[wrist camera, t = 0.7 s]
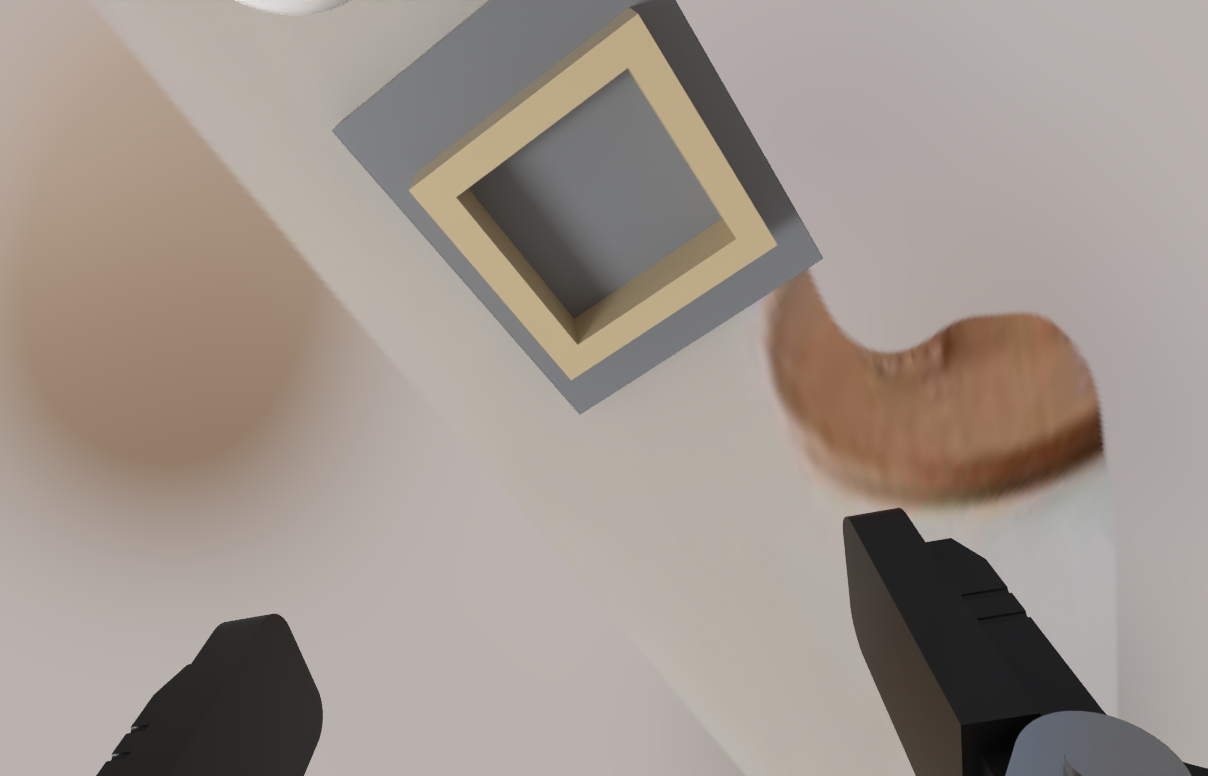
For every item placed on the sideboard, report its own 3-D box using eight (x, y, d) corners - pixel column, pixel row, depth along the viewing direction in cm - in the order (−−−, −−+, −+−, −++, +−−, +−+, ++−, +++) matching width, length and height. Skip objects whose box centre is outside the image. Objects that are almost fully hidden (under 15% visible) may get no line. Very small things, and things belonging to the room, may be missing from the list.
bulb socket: (339, 122, 30) (316, 146, 27) (612, -101, 27) (625, -106, 24) (577, 398, 38) (583, 444, 34) (812, 246, 35) (844, 280, 31)
